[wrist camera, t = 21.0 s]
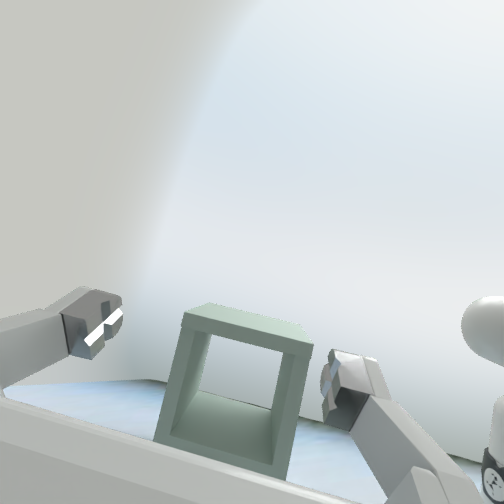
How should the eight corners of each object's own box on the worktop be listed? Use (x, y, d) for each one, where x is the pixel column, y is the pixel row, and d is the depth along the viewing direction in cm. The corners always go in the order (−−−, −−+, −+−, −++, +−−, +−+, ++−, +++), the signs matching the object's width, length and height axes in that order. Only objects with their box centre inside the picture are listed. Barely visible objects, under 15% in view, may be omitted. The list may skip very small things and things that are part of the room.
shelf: (270, 467, 46) (299, 324, 48) (270, 557, 31) (313, 344, 33) (176, 439, 47) (209, 302, 50) (133, 512, 33) (184, 311, 35)
